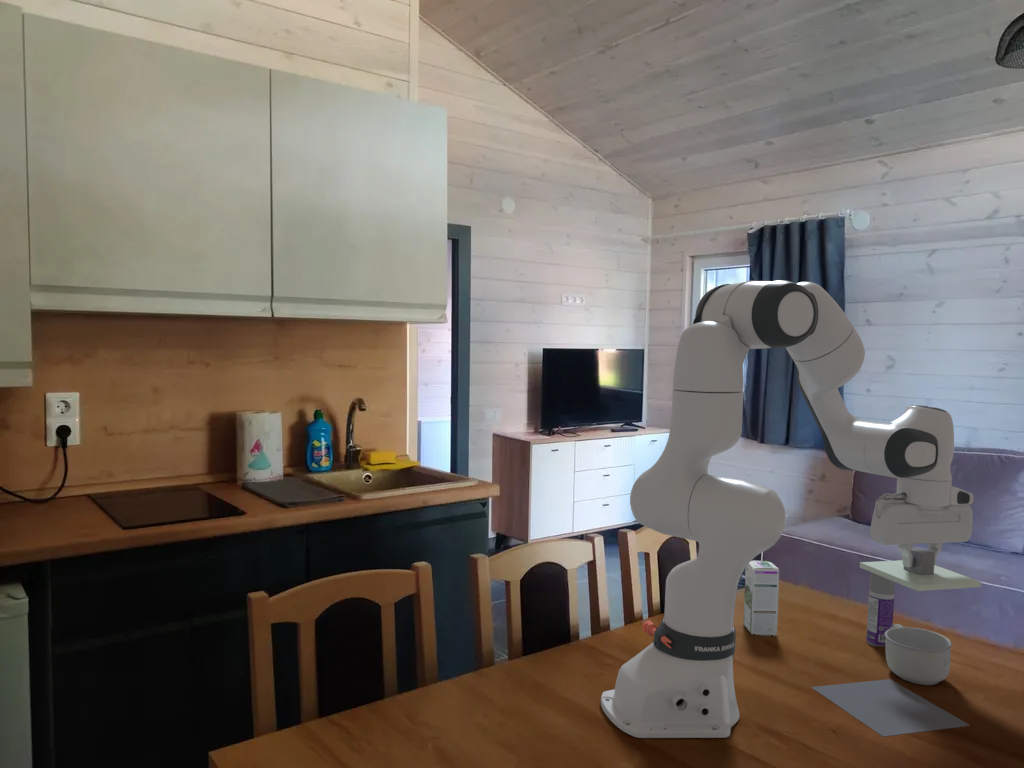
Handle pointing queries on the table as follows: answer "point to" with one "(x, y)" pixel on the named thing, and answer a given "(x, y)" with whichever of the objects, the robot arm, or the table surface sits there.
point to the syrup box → (761, 598)
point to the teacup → (917, 654)
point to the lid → (920, 573)
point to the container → (879, 609)
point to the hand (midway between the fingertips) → (918, 566)
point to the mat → (889, 707)
